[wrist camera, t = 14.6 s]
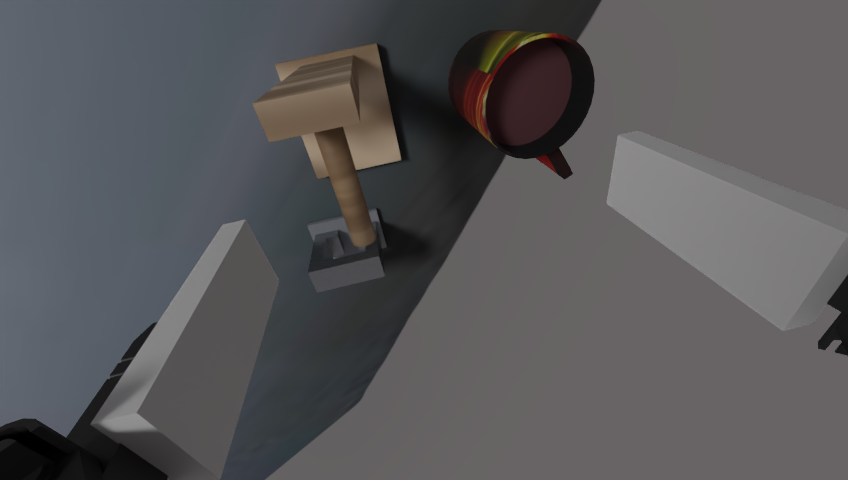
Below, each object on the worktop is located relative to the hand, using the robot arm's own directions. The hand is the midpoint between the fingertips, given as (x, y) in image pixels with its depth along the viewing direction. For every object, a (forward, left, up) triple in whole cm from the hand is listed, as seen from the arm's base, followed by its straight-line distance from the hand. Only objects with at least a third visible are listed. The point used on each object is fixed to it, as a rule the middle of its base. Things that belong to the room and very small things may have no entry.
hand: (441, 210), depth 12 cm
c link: (+17, -9, -28) cm, 34 cm away
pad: (+17, -9, -29) cm, 35 cm away
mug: (+3, +13, -29) cm, 32 cm away
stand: (+2, -5, -29) cm, 29 cm away
